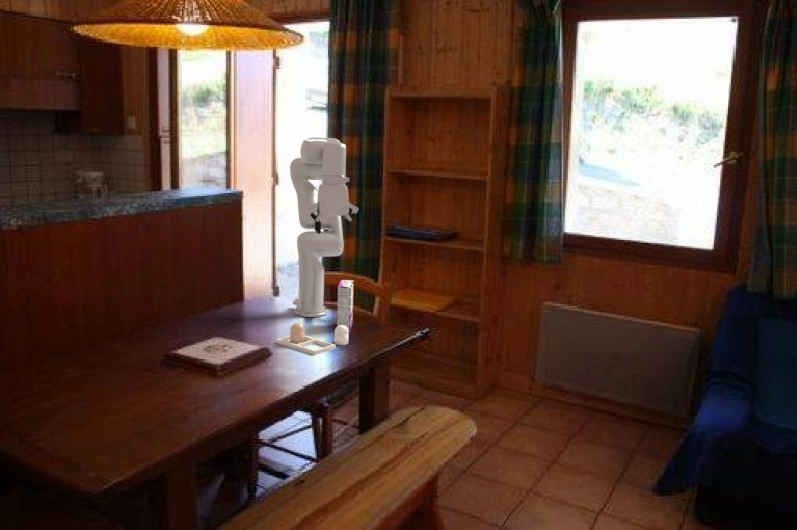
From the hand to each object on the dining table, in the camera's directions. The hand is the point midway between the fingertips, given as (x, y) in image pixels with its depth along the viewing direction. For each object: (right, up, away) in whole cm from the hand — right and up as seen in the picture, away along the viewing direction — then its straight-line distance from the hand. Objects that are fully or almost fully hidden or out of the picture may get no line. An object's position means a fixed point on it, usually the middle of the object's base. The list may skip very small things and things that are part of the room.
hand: (332, 232), depth 238 cm
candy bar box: (+2, -33, +21) cm, 40 cm away
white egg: (+3, -37, +1) cm, 37 cm away
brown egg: (-11, -36, -1) cm, 38 cm away
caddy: (-8, -38, -4) cm, 39 cm away
